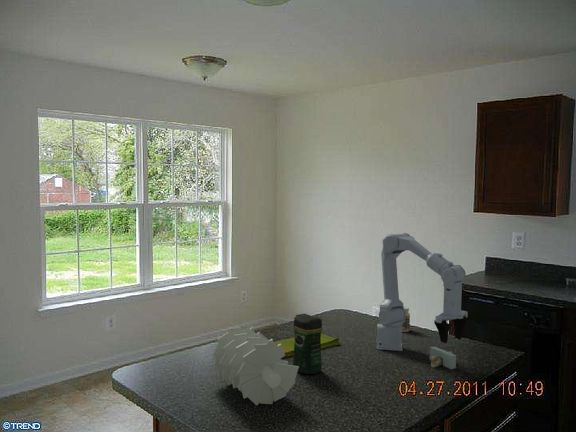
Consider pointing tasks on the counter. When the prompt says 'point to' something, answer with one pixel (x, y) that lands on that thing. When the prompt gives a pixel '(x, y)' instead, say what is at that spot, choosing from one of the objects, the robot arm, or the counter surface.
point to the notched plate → (444, 357)
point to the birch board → (437, 360)
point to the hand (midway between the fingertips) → (451, 340)
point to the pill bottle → (406, 321)
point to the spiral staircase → (254, 365)
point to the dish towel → (289, 343)
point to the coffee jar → (307, 344)
